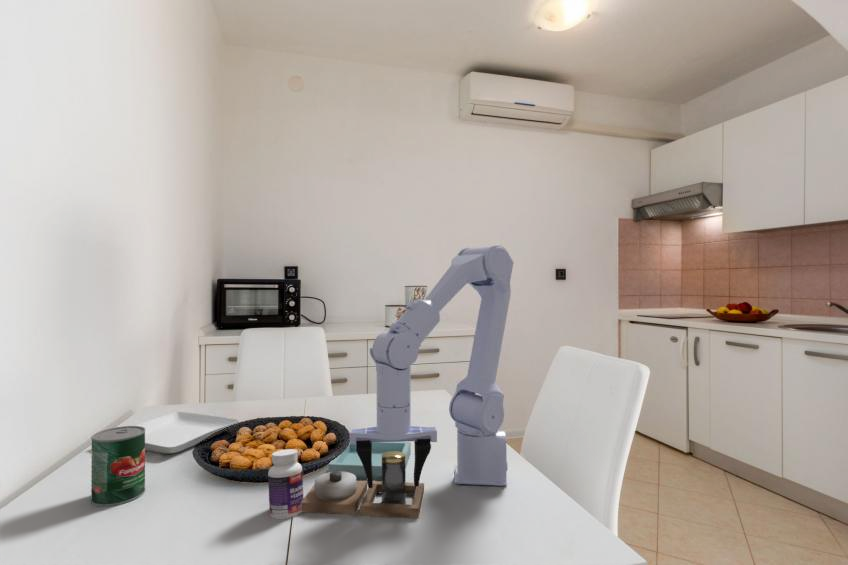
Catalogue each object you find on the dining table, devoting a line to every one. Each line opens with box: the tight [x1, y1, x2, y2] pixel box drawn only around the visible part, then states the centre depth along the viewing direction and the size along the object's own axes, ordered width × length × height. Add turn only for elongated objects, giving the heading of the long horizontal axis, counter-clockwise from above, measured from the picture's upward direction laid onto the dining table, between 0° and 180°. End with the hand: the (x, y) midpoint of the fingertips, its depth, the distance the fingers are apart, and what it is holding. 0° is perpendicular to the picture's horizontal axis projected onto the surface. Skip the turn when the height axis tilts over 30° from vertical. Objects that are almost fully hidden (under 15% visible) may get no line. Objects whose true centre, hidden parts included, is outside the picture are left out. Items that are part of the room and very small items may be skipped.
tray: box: [328, 441, 412, 481], centre depth 95 cm, size 14×14×2 cm
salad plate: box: [133, 411, 240, 455], centre depth 111 cm, size 21×21×3 cm
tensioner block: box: [302, 471, 425, 519], centre depth 79 cm, size 19×9×4 cm, turn 85°
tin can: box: [381, 451, 407, 504], centre depth 79 cm, size 4×4×8 cm
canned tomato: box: [90, 425, 146, 508], centre depth 81 cm, size 8×8×11 cm
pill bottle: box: [267, 448, 305, 520], centre depth 76 cm, size 5×5×10 cm
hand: (393, 484), depth 79 cm, fingers open, 7 cm apart
